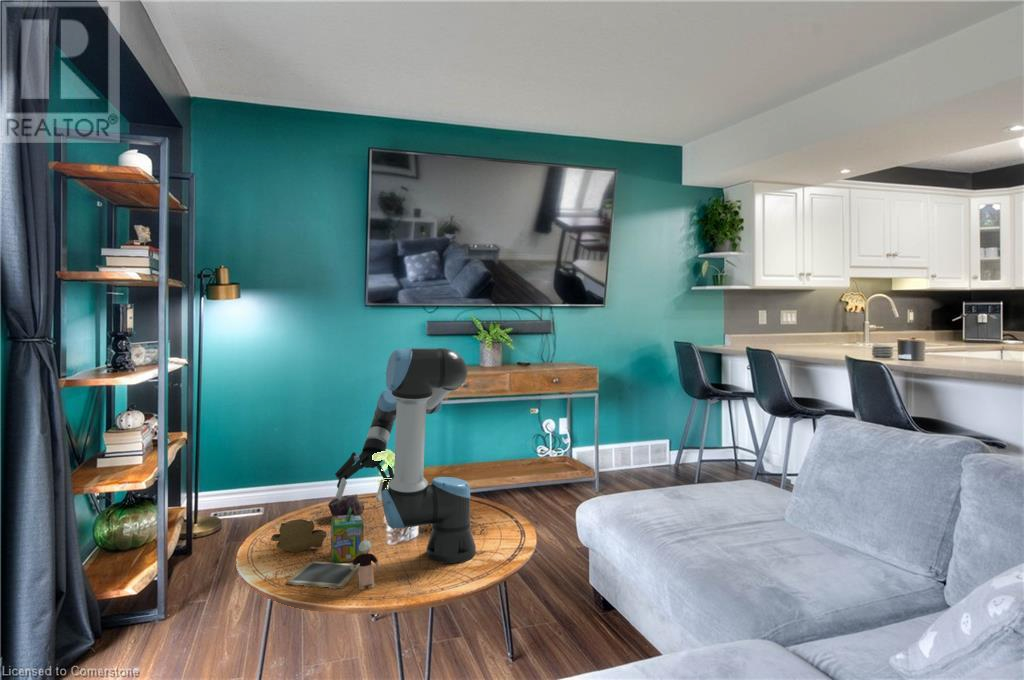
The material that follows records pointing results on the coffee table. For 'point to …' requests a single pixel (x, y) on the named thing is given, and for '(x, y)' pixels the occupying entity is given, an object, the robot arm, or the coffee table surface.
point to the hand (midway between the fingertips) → (358, 498)
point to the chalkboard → (324, 574)
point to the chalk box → (346, 537)
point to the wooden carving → (298, 536)
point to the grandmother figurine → (365, 565)
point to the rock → (346, 506)
